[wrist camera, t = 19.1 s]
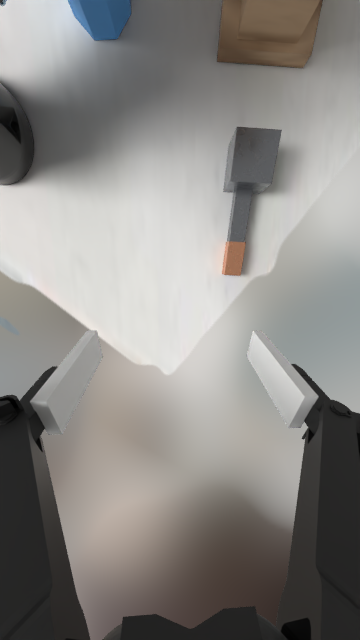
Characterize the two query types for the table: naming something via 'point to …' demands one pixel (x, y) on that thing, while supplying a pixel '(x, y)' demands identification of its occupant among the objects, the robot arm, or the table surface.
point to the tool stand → (268, 31)
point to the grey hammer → (246, 184)
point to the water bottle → (102, 16)
